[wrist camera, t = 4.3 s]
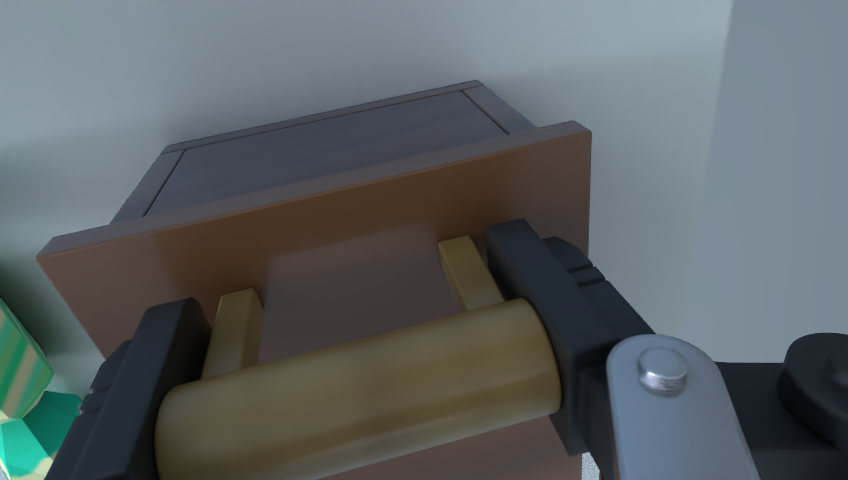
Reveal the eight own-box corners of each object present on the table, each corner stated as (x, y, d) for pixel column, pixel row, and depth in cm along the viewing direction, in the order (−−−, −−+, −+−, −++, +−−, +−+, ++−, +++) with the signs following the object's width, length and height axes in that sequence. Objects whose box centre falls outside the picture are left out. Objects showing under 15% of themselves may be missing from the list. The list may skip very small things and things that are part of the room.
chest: (165, 145, 16) (75, 268, 10) (477, 79, 17) (573, 153, 11) (313, 464, 25) (313, 630, 19) (508, 410, 26) (569, 551, 20)
